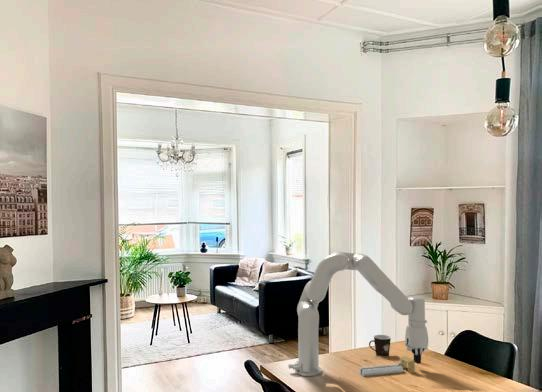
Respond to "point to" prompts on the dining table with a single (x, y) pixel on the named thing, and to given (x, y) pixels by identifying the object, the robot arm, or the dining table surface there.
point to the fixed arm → (382, 370)
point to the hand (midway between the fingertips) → (417, 362)
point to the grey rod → (378, 367)
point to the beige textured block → (411, 364)
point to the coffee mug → (381, 345)
